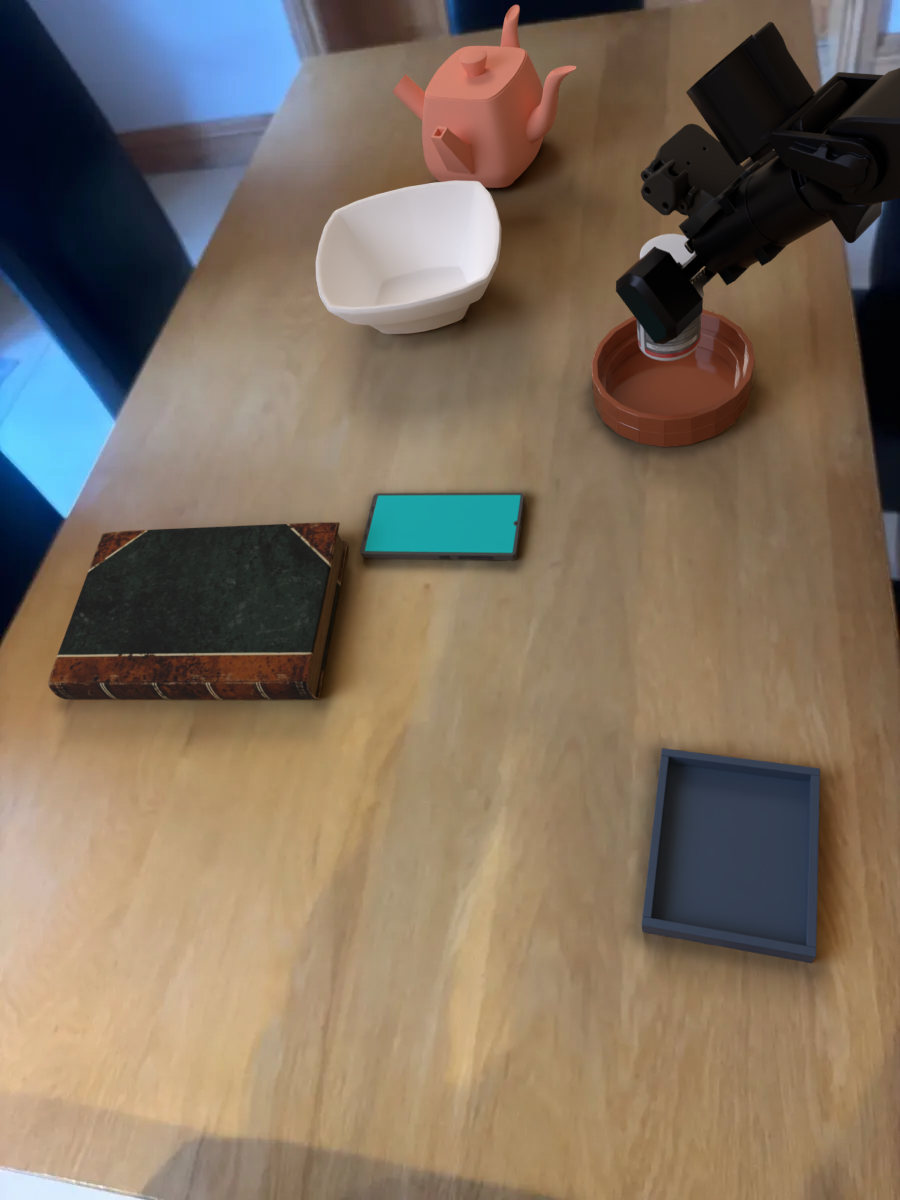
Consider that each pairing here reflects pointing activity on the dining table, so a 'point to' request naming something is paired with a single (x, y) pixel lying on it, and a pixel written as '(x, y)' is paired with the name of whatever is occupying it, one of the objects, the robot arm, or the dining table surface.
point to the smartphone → (444, 526)
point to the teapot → (485, 111)
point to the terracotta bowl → (673, 384)
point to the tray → (735, 854)
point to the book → (204, 614)
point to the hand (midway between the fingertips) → (655, 281)
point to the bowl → (409, 256)
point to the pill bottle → (693, 332)
